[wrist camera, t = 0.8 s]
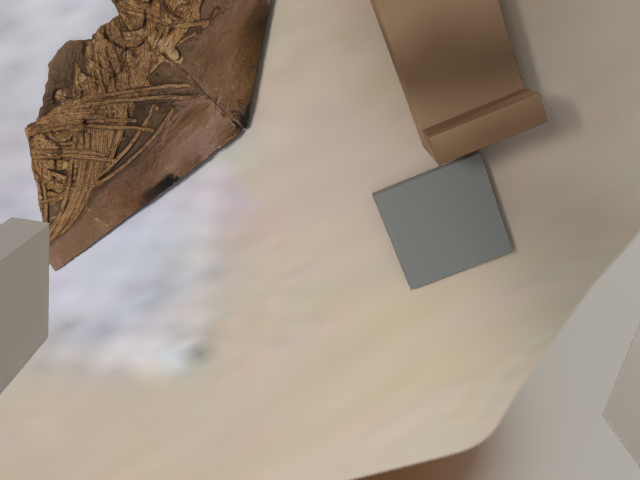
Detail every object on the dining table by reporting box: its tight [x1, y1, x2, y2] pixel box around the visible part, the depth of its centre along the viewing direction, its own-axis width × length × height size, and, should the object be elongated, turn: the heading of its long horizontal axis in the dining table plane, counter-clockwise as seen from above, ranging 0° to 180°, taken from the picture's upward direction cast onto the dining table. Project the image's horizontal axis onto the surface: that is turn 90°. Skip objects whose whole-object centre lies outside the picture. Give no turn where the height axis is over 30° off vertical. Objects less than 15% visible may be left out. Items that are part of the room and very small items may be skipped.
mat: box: [373, 151, 513, 290], centre depth 38 cm, size 7×7×1 cm
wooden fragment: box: [25, 0, 271, 271], centre depth 35 cm, size 26×11×1 cm, turn 140°
